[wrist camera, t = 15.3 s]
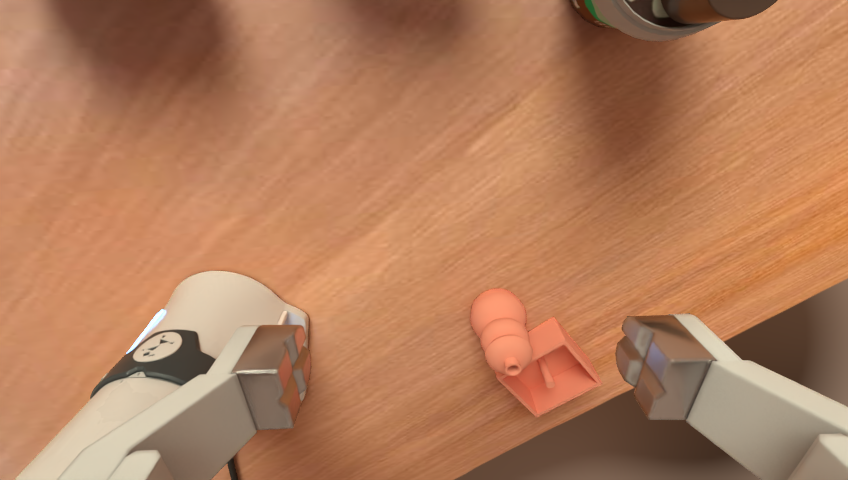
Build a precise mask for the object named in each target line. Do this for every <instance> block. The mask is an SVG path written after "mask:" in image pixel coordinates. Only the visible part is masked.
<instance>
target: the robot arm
mask: <svg viewBox="0 0 848 480" xmlns="http://www.w3.org/2000/svg"><path fill="white" fill-rule="evenodd" d="M308 328H309V318H308V315H307V314H306V313H305V312H303V311H302V310H300V309H298V308H296V307H294V306H292V305H289V304H287V303H285V302H284V301H282V300H281V299H280V298H279V297H278V296H277V295H276V294H275V293H274V292H272V291H271V290H270V289H269V288H267V287H266V286H264V285H263V284H261V283H260V282H258V281H256V280H254V279H252V278H249V277H247V276H244V275H241V274H238V273H233V272H227V271H207V272H201V273H198V274H195V275H192V276H190V277H188V278H186V279H185V280H184V281H182V282H181V283H180V284H179V285H178V286H177V287H176V289H175V290H174V292H173V294H172V296H171V298H170V300H169V301H168V303H167V305H166V306H165V308H164V309H162V310H161V311H160V312H159V313H157V315H156V316H155V317H154V318H153V320H152V321H151V322H150V324H149V325H148V326H147V328H146V329H145V330H144V332H143V333H142V334H141V335H140V337H139V338H138V339H137V341H136V342H135V343H134V345H133V346H132V347H131V349H130V350H129V351H128V352H127V354H126V355H125V356H124V357H123V358H122V359H121V360H120V361H119V362H118V363H117V364H116V365H115V366H114V367H113V368H112V369H111V370H110V371H109V373H107V374H106V375H105V376H104V377H103V378H102V379H101V381H100V382H99V384H98V385H97V386H96V387H95V388H94V390H93V391H92V394H91V397H90V400H89V401H88V402H87V404H86V405H85V406H84V407H83V408H82V409H81V410H80V411H79V412H78V413H77V414H76V415H75V416H74V417H73V418H72V419H71V420H70V421H69V422H68V423H67V424H66V425H65V427H64V428H63V429H62V430H61V431H60V432H59V433H58V434H57V435H56V436H55V437H54V438H53V439H52V440H51V441H50V442H49V443H48V444H47V445H46V446H45V448H44V449H43V450H42V451H41V452H40V453H39V454H38V455H37V456H36V457H35V458H34V459H33V460H32V461H31V462H30V463H29V464H28V465H27V466H26V467H25V469H24V470H23V471H22V472H21V473H20V474H19V475H18V476H17V477H16V479H15V480H211V479H212V478H213V477H214V476H215V475H216V474H217V473H218V472H219V471H220V470H221V469H222V468H223V467H224V466H225V465H226V464H227V463H228V468H229V472H230V476H231V480H238V478H237V473H236V469H235V465H234V460H233V456H234V455H235V454H236V453H237V452H238V451H239V450H240V449H241V448H242V447H243V446H244V445H245V444H246V443H247V442H248V441H249V440H250V439H251V438H252V437H253V436H254V435H255V434H256V433H257V431H256V430H268V429H287V428H293V427H294V424H295V421H296V418H297V415H298V413H299V410H300V407H301V401H302V400H303V399H304V397H305V395H306V389H307V386H308V383H309V380H310V374H311V356H310V351H309V350H308ZM622 331H623V332H624V334H625V335H626V336H625V337H624V338H622V339H621V340H620V341H619V342H618V344H617V348H616V353H615V354H616V364H617V367H618V369H619V372H620V374H621V375H622V377H623V379H624V381H626V382H627V383H629V384H630V385H632V386H633V387H635V393H634V397H635V398H636V400H637V401H638V403H639V405H640V406H641V408H642V409H643V411H644V412H645V414H646V416H647V417H648V419H653V420H660V419H661V420H678V419H679V420H686V422H687V423H689V424H690V425H691V426H692V427H694V428H695V429H696V430H698V431H699V432H700V433H701V434H703V435H704V436H705V437H707V438H708V439H709V440H710V441H712V442H713V443H715V444H716V445H717V446H718V447H720V448H721V449H722V450H723V451H725V452H726V453H727V454H729V455H730V456H731V457H732V458H734V459H735V460H736V461H738V462H739V463H740V464H741V465H743V466H744V467H745V468H746V469H748V470H749V471H750V472H752V473H753V474H754V475H756V476H757V477H758V478H759V479H761V480H848V407H847V406H845V405H843V404H840V403H838V402H836V401H834V400H832V399H830V398H828V397H826V396H824V395H821V394H819V393H817V392H815V391H813V390H811V389H809V388H807V387H805V386H802V385H800V384H798V383H796V382H794V381H792V380H790V379H788V378H785V377H783V376H781V375H779V374H777V373H775V372H773V371H771V370H769V369H767V368H764V367H762V366H760V365H758V364H756V363H754V362H752V361H749V360H748V361H743V360H742V359H740V358H739V357H738V356H737V355H736V354H735V353H734V352H733V351H732V350H731V349H730V348H729V347H728V346H727V345H726V344H725V343H724V342H723V341H722V340H721V339H719V338H718V337H717V336H716V335H715V334H714V333H713V332H712V331H711V330H710V329H709V328H708V327H707V326H706V325H705V324H704V323H703V322H702V321H701V320H699V319H698V318H697V317H696V316H694V315H692V314H690V313H688V314H669V315H652V316H627V318H626V319H625V320H624V322H623V325H622Z"/></svg>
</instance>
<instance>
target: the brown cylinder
mask: <svg viewBox="0 0 848 480" xmlns="http://www.w3.org/2000/svg"><path fill="white" fill-rule="evenodd" d="M776 1H777V0H661V3H662V6H663V8H664V10H665V12H666V13H667V15H668V16H669V17H670V18H671V19H673V20H674V21H676V22H679V23H682V24H699V23H708V22H718V21H728V20H737V19H745V18H749V17H752V16H754V15H757V14H759V13H761V12H763V11H764V10H766V9H767V8H769V7H770V6H771V5H773V4H774V3H775V2H776Z"/></svg>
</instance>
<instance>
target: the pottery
mask: <svg viewBox="0 0 848 480" xmlns="http://www.w3.org/2000/svg"><path fill="white" fill-rule="evenodd" d="M470 321H471V325H472V328H473V330H474V331H475V333H476V334H477V335H478V336H479V337H480V338H481V346H482V348H483V350H484V352H485V358H486V361H487V363H488V364H489V366H490V367H491V368H492V369H493V370H494V371H495V373H496V378H497V380H498V381H499V382H501V383H502V384H503V385H504V386H505V387H506V388H507V389H508V390H509V391H510V392H511V393H512V394H513V395H514V396H515V397H516V398H517V399H518V400H519V401H520V402H521V403H522V404H523V405H524V406H525V407H526V408H527V409H528V410H529V411H530V412H531V413H532V414H533V415H535V416H536V417H539V416H540V415H542V414H544V413H546V412H548V411H550V410H552V409H554V408H556V407H558V406H560V405H562V404H564V403H566V402H568V401H570V400H572V399H574V398H576V397H578V396H580V395H582V394H584V393H585V392H587V391H589V390H591V389H593V388H595V387H597V386H599V385H601V384H603V383H602V382H601V380H600V378H599V376H598V374H597V372H596V371H595V369H594V367H593V365H592V363H591V362H590V360H589V358H588V357H587V356H586V355H585V353H584V352H583V351H582V350H581V349H580V347H579V346H578V345H577V344H576V343H575V342H574V340H573V339H572V338H571V337H570V336H569V334H568V333H567V332H566V331H565V330H564V328H563V327H562V326H561V325H560V324H559V323H558V321H557V320H556V319H555V318H554V317H552V318H550V319H549V320H547V321H545V322H544V323H542V324H540V325H539V326H537V327H535V328H534V329H532V330H530V331H529V332H527V330H526V328H525V325H526V311H525V308H524V306H523V304H522V303H521V301H520V300H519V299H518V298H517V297H516V296H515V295H514V294H513V293H512V292H510V291H508V290H504V289H491V290H487V291H485V292H483V293H481V294H480V295H479V296H478V297H477V298H476V299H475V300H474V302H473V304H472V308H471V314H470Z"/></svg>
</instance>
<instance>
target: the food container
mask: <svg viewBox="0 0 848 480" xmlns="http://www.w3.org/2000/svg"><path fill="white" fill-rule="evenodd" d="M570 2H571V4H572V6H573V7H574V9H575V10H576V11H577V12H578V13H579V15H580V16H581V17H582V18H583V19H584V20H586V21H588V22H590V23H592V24H594V25H596V26H598V27H605V28H617V29H619V30H620V31H621V32H623V33H625V34H627V35H630V36H632V37H634V38H638V39H642V40H646V41H668V40H676V39H679V38H683V37H686V36H689V35H692V34H694V33H697V32H699V31H701V30H704V29H706V28H708V27H710V26H713V25H715V24H717V23H719V22H721V21H718V22H708V23H699V24H682V23H679V22H676V21H674V20H673V19H671V18H670V17H669V16H668V15H667V13H666V12H665V10H664V8H663V6H662V3H661V0H570Z"/></svg>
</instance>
